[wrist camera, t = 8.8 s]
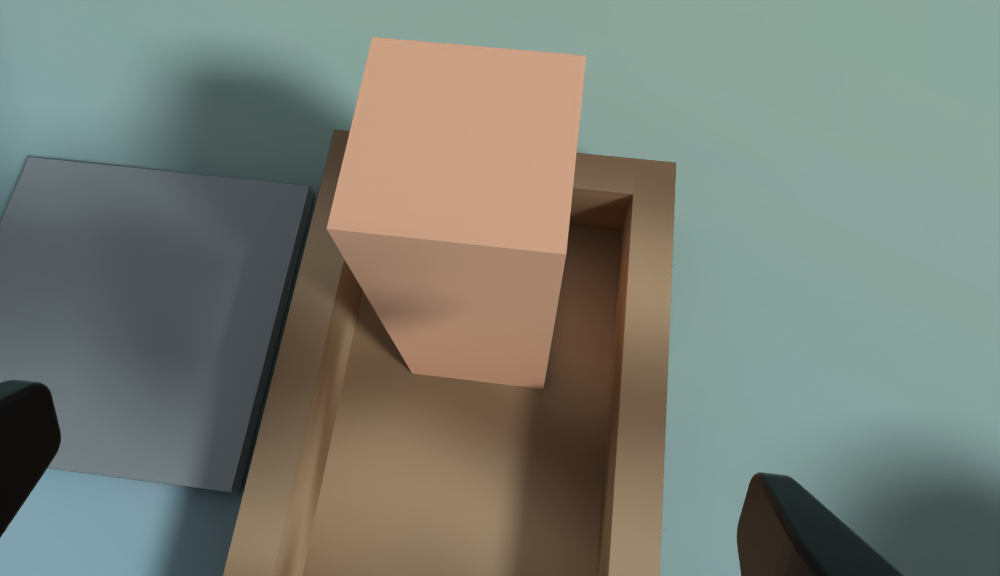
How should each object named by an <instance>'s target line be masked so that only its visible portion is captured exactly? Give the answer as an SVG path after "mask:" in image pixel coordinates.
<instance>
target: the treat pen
mask: <svg viewBox="0 0 1000 576" xmlns="http://www.w3.org/2000/svg"><path fill="white" fill-rule="evenodd" d="M349 133H350V131H343V130H334V133H333V137H332V141H331V145H330V149H329V153H328V157H327V161H326V165H325V169H324V173H323V177H322V181H321V185H320V189H319V193H318V197H317V201H316V205H315V209H314V213H313V217H312V221H311V225H310V229H309V233H308V237H307V241H306V245H305V249H304V253H303V257H302V261H301V265H300V269H299V273H298V277H297V281H296V285H295V289H294V293H293V297H292V301H291V305H290V309H289V313H288V317H287V321H286V325H285V329H284V333H283V337H282V341H281V345H280V349H279V353H278V357H277V361H276V365H275V369H274V373H273V377H272V381H271V385H270V389H269V393H268V397H267V401H266V405H265V409H264V413H263V417H262V421H261V425H260V429H259V433H258V437H257V441H256V445H255V449H254V453H253V457H252V461H251V465H250V469H249V473H248V477H247V481H246V485H245V489H244V493H243V497H242V501H241V505H240V509H239V513H238V517H237V521H236V525H235V529H234V533H233V537H232V541H231V545H230V549H229V553H228V557H227V561H226V565H225V569H224V573H223V576H660V552H661V527H662V503H663V478H664V453H665V428H666V403H667V378H668V353H669V328H670V303H671V278H672V253H673V228H674V203H675V178H676V163H675V162H665V161H654V160H644V159H633V158H623V157H613V156H602V155H592V154H582V153H576V163H575V173H574V183H573V193H572V203H571V212H570V222H569V232H568V242H567V252H566V259H565V265H564V271H563V277H562V283H561V288H560V294H559V300H558V306H557V312H556V318H555V324H554V330H553V336H552V341H551V347H550V353H549V359H548V365H547V371H546V377H545V383H544V389H538V388H530V387H521V386H513V385H504V384H496V383H488V382H479V381H471V380H463V379H454V378H446V377H438V376H429V375H421V374H413V373H412V372H411V371H410V369H409V367H408V366H407V364H406V362H405V361H404V359H403V357H402V356H401V354H400V352H399V350H398V349H397V347H396V345H395V344H394V342H393V340H392V339H391V337H390V335H389V334H388V332H387V330H386V329H385V327H384V325H383V323H382V322H381V320H380V318H379V317H378V315H377V313H376V312H375V310H374V308H373V307H372V305H371V303H370V301H369V300H368V298H367V296H366V295H365V293H364V291H363V290H362V288H361V286H360V285H359V283H358V281H357V280H356V278H355V276H354V274H353V273H352V271H351V269H350V268H349V266H348V264H347V263H346V261H345V259H344V258H343V256H342V254H341V253H340V251H339V249H338V247H337V246H336V244H335V242H334V241H333V239H332V237H331V236H330V234H329V232H328V231H327V225H328V220H329V216H330V212H331V208H332V204H333V200H334V195H335V191H336V187H337V183H338V179H339V175H340V170H341V166H342V162H343V158H344V154H345V150H346V146H347V141H348V137H349Z"/></svg>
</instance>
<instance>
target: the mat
mask: <svg viewBox="0 0 1000 576" xmlns="http://www.w3.org/2000/svg"><path fill="white" fill-rule="evenodd" d="M313 198H314V193H313V191H312V189H311V188H310V186H307V185H297V184H288V183H278V182H268V181H258V180H249V179H239V178H229V177H219V176H209V175H200V174H190V173H180V172H170V171H161V170H151V169H141V168H131V167H121V166H112V165H102V164H92V163H82V162H73V161H63V160H53V159H43V158H34V157H28V160H27V162H26V164H25V167H24V169H23V171H22V174H21V176H20V178H19V181H18V183H17V185H16V188H15V190H14V192H13V195H12V197H11V199H10V202H9V204H8V206H7V209H6V211H5V213H4V216H3V218H2V220H1V223H0V383H1V382H4V381H8V380H24V381H32V382H40V383H42V384H44V385H46V386H47V387H48V388H49V390H50V391H51V394H52V398H53V402H54V406H55V410H56V414H57V418H58V423H59V427H60V431H61V444H60V448H59V450H58V452H57V454H56V456H55V457H54V459H53V460H52V462H51V463H50V465H49V466H48V468H50V469H58V470H65V471H73V472H80V473H88V474H95V475H103V476H110V477H118V478H125V479H133V480H140V481H148V482H155V483H163V484H170V485H178V486H185V487H193V488H200V489H208V490H215V491H223V492H230V493H237V494H239V491H240V487H241V483H242V479H243V475H244V471H245V467H246V464H247V460H248V456H249V452H250V448H251V444H252V440H253V436H254V432H255V428H256V424H257V420H258V416H259V412H260V408H261V404H262V400H263V396H264V392H265V388H266V384H267V380H268V376H269V372H270V368H271V364H272V360H273V356H274V352H275V348H276V345H277V341H278V337H279V333H280V329H281V325H282V321H283V317H284V313H285V309H286V305H287V301H288V297H289V293H290V289H291V285H292V281H293V277H294V273H295V269H296V265H297V261H298V257H299V253H300V249H301V245H302V241H303V237H304V233H305V229H306V226H307V222H308V218H309V214H310V210H311V206H312V202H313Z"/></svg>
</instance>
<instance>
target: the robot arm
mask: <svg viewBox="0 0 1000 576" xmlns="http://www.w3.org/2000/svg"><path fill="white" fill-rule="evenodd" d="M60 444H61V431H60V427H59V423H58V418H57V414H56V410H55V406H54V402H53V398H52V394H51V391H50V390H49V388H48V387H47V386H46V385H44V384H42V383H40V382H32V381H24V380H8V381H4V382H1V383H0V537H1V536H2V534H3V533H4V531H5V530H6V528H7V527H8V526H9V524H10V523H11V521H12V520H13V518H14V517H15V515H16V514H17V512H18V511H19V509H20V508H21V506H22V505H23V503H24V502H25V500H26V499H27V497H28V496H29V494H30V493H31V491H32V490H33V489H34V487H35V486H36V484H37V483H38V481H39V480H40V478H41V477H42V475H43V474H44V472H45V471H46V469H47V468H48V466H49V465H50V463H51V462H52V460H53V459H54V457H55V456H56V454H57V452H58V450H59V448H60ZM737 546H738V553H739V561H740V569H741V576H904V575H903V574H902V573H901V572H899V571H898V570H897V569H896V568H895V567H894V566H893V565H891V564H890V563H889V562H888V561H887V560H886V559H885V558H883V557H882V556H881V555H880V554H879V553H878V552H877V551H875V550H874V549H873V548H872V547H871V546H870V545H869V544H867V543H866V542H865V541H864V540H863V539H862V538H861V537H859V536H858V535H857V534H856V533H855V532H854V531H853V530H851V529H850V528H849V527H848V526H847V525H846V524H844V523H843V522H842V521H841V520H840V519H839V518H838V517H836V516H835V515H834V514H833V513H832V512H831V511H830V510H828V509H827V508H826V507H825V506H824V505H823V504H822V503H820V502H819V501H818V500H817V499H816V498H815V497H814V496H812V495H811V494H810V493H809V492H808V491H807V490H806V489H804V488H803V487H802V486H801V485H800V484H799V483H798V482H796V481H795V480H794V479H793V478H791V477H789V476H786V475H778V474H770V473H762V472H760V473H757V474H755V475H754V476H753V477H752V479H751V481H750V484H749V487H748V491H747V494H746V498H745V501H744V505H743V508H742V512H741V515H740V519H739V523H738V528H737Z"/></svg>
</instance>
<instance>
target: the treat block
mask: <svg viewBox="0 0 1000 576" xmlns="http://www.w3.org/2000/svg"><path fill="white" fill-rule="evenodd" d="M585 63H586V56H582V55H571V54H559V53H548V52H536V51H525V50H514V49H502V48H491V47H479V46H468V45H456V44H445V43H433V42H422V41H410V40H399V39H387V38H376V37H372V41H371V46H370V50H369V54H368V58H367V62H366V66H365V71H364V75H363V79H362V83H361V87H360V91H359V96H358V100H357V104H356V108H355V112H354V116H353V121H352V125H351V129H350V133H349V137H348V141H347V146H346V150H345V154H344V158H343V162H342V166H341V170H340V175H339V179H338V183H337V187H336V191H335V195H334V200H333V204H332V208H331V212H330V216H329V220H328V225H327V231H328V232H329V234H330V236H331V237H332V239H333V241H334V242H335V244H336V246H337V247H338V249H339V251H340V253H341V254H342V256H343V258H344V259H345V261H346V263H347V264H348V266H349V268H350V269H351V271H352V273H353V274H354V276H355V278H356V280H357V281H358V283H359V285H360V286H361V288H362V290H363V291H364V293H365V295H366V296H367V298H368V300H369V301H370V303H371V305H372V307H373V308H374V310H375V312H376V313H377V315H378V317H379V318H380V320H381V322H382V323H383V325H384V327H385V329H386V330H387V332H388V334H389V335H390V337H391V339H392V340H393V342H394V344H395V345H396V347H397V349H398V350H399V352H400V354H401V356H402V357H403V359H404V361H405V362H406V364H407V366H408V367H409V369H410V371H411V372H412V373H413V374H421V375H429V376H438V377H446V378H454V379H463V380H471V381H479V382H488V383H496V384H504V385H513V386H521V387H530V388H538V389H544V383H545V377H546V371H547V365H548V359H549V353H550V347H551V341H552V336H553V330H554V324H555V318H556V312H557V306H558V300H559V294H560V288H561V283H562V277H563V271H564V265H565V259H566V252H567V242H568V232H569V222H570V212H571V203H572V193H573V183H574V173H575V163H576V153H577V143H578V133H579V123H580V113H581V103H582V93H583V83H584V73H585Z"/></svg>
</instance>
